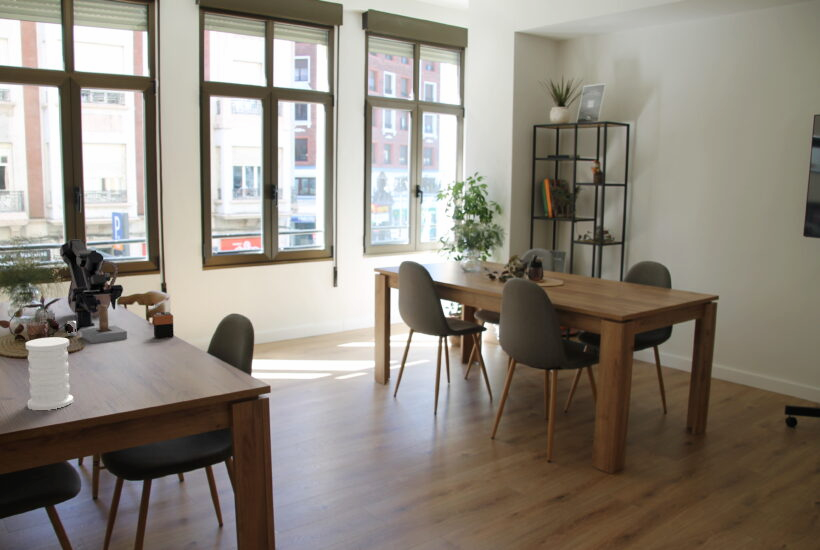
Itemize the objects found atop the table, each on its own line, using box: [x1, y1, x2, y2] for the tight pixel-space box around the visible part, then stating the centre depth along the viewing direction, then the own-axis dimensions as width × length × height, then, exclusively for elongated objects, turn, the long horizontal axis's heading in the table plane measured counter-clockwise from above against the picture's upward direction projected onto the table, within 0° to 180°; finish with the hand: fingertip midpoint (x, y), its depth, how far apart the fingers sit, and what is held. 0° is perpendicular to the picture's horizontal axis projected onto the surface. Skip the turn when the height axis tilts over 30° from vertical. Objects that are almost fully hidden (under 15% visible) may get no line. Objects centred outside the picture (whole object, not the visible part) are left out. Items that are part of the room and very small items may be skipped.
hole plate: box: [81, 325, 128, 344], centre depth 278 cm, size 13×13×3 cm
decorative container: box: [25, 336, 74, 411], centre depth 198 cm, size 12×12×18 cm
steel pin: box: [66, 320, 78, 337], centre depth 279 cm, size 3×3×6 cm
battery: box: [153, 311, 175, 340], centre depth 281 cm, size 4×7×10 cm, turn 121°
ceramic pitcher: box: [67, 259, 119, 317], centre depth 318 cm, size 18×21×25 cm
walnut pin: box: [98, 305, 109, 332], centre depth 277 cm, size 3×3×13 cm
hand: (102, 310), depth 277 cm, fingers open, 9 cm apart
